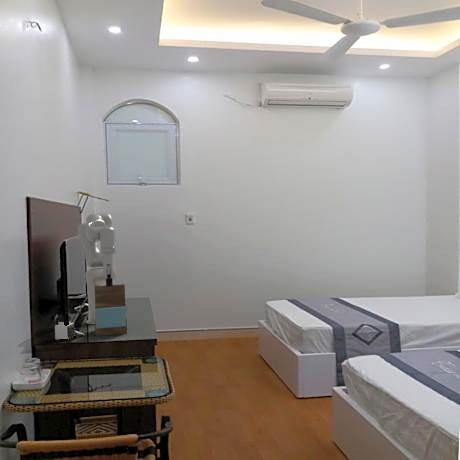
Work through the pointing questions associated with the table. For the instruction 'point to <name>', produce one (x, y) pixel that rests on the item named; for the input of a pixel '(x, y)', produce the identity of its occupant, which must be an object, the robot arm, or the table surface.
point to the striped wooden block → (110, 305)
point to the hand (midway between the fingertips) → (109, 285)
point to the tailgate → (110, 317)
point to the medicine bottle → (64, 329)
